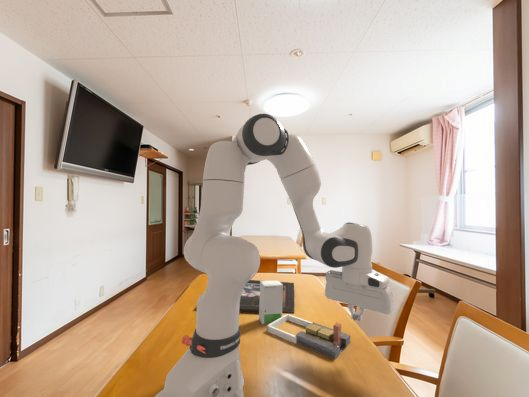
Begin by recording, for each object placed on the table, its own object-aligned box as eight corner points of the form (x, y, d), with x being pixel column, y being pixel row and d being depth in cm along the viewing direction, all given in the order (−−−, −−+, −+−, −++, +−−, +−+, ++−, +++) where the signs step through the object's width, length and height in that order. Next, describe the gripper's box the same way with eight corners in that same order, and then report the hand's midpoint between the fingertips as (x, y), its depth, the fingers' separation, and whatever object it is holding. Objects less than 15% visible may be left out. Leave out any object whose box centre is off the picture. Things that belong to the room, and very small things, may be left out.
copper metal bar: (336, 351, 79) (336, 328, 80) (331, 349, 80) (332, 326, 81) (342, 345, 83) (342, 323, 83) (337, 343, 84) (337, 321, 84)
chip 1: (316, 343, 84) (316, 331, 84) (305, 339, 87) (305, 327, 87) (321, 338, 87) (321, 326, 87) (311, 334, 90) (311, 323, 90)
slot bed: (335, 362, 76) (335, 350, 76) (295, 345, 85) (295, 334, 85) (350, 345, 85) (350, 335, 85) (312, 331, 94) (313, 322, 94)
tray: (295, 346, 84) (296, 337, 84) (266, 333, 92) (266, 325, 92) (314, 331, 94) (315, 323, 94) (287, 321, 102) (287, 313, 102)
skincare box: (262, 326, 97) (263, 285, 98) (258, 318, 104) (259, 280, 104) (282, 324, 99) (283, 284, 100) (277, 316, 106) (278, 279, 106)
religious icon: (218, 282, 151) (218, 277, 151) (293, 286, 147) (294, 281, 147) (193, 311, 111) (193, 304, 111) (295, 318, 107) (296, 311, 107)
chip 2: (328, 348, 81) (328, 335, 81) (317, 343, 84) (317, 331, 84) (333, 343, 84) (334, 331, 85) (322, 339, 87) (323, 327, 87)
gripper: (321, 271, 83) (321, 313, 83) (389, 284, 70) (389, 334, 70) (329, 267, 87) (329, 306, 87) (394, 278, 75) (394, 325, 74)
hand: (356, 319), depth 78 cm, fingers closed
